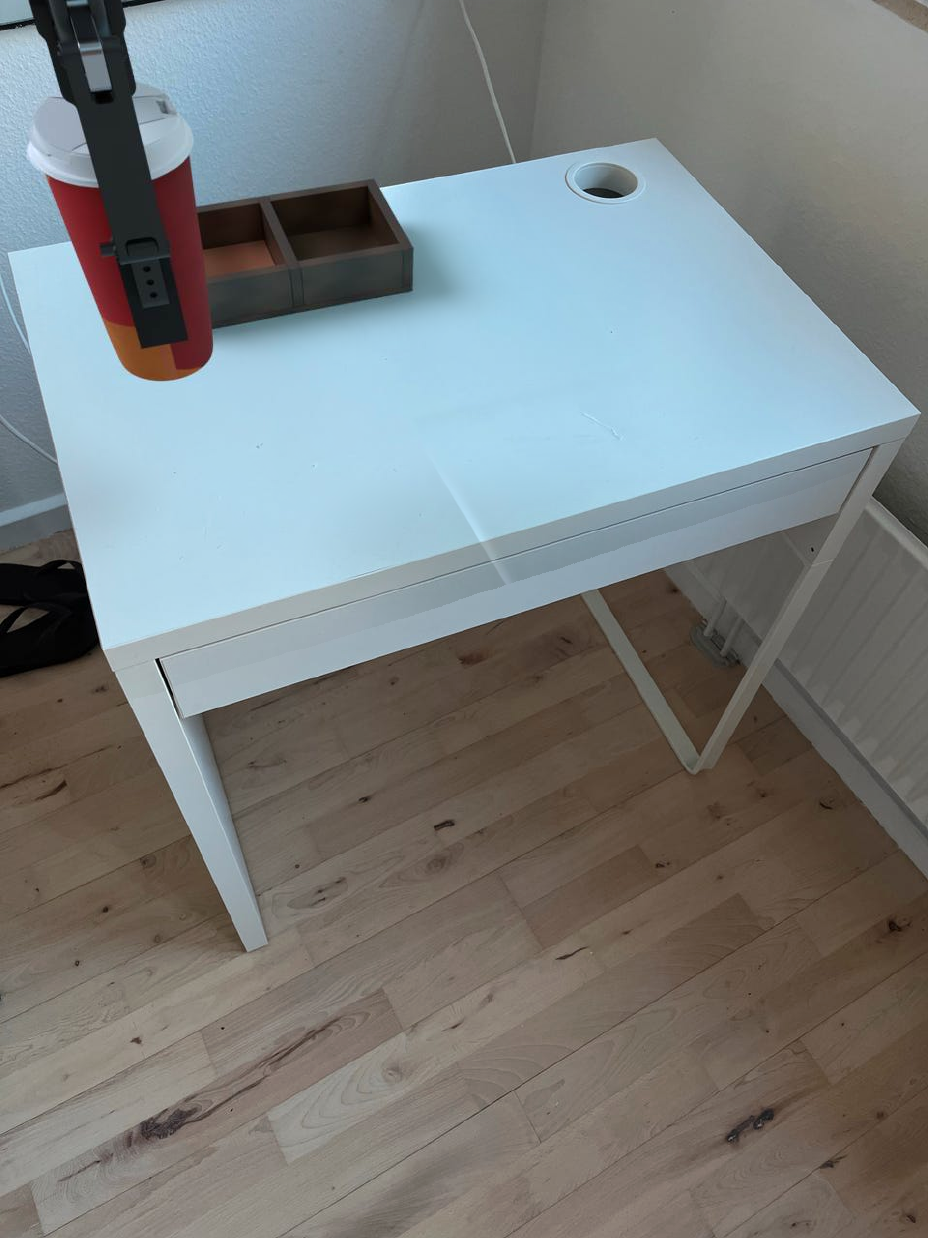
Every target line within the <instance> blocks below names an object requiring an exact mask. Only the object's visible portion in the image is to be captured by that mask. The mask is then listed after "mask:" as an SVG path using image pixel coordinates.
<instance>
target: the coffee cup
mask: <svg viewBox="0 0 928 1238" xmlns="http://www.w3.org/2000/svg"><path fill="white" fill-rule="evenodd" d="M135 82H136V91H135V93H134V95H133V96H132V99H133V104H134V108H135V112H136V116H137V120H138V124H139V129H140V133H141V137H142V141H143V145H144V149H145V154H146V158H147V162H148V166H149V170H150V174H151V179H152V183H153V187H154V191H155V195H156V200H157V204H158V208H159V212H160V216H161V220H162V225H163V229H164V231H165V235H166V237H167V239H169V242H170V246H171V249H170V253H171V254H170V260H171V264H172V269H173V273H174V278H175V282H176V286H177V291H178V295H179V299H180V304H181V308H182V312H183V317H184V321H185V325H186V330H187V334H188V338H189V340H187V341H182V342H177V343H171V344H166V345H161V346H155V347H150V348H144V349H141V345H140V342H139V338H138V335H137V331H136V328H135V324H134V321H133V317H132V314H131V310H130V307H129V303H128V300H127V296H126V293H125V289H124V286H123V282H122V279H121V275H120V272H119V268H118V265H117V261H116V258H115V256H109V257H102V254H101V250H100V247H99V243H103V242H109V241H111V240H110V238H111V236H112V232H111V229H110V225H109V222H108V218H107V215H106V211H105V207H104V204H103V200H102V197H101V193H100V190H99V186H98V182H97V179H96V175H95V172H94V168H93V165H92V161H91V157H90V154H89V150H88V147H87V143H86V140H85V136H84V132H83V129H82V125H81V122H80V118H79V115H78V111H77V109H76V107H75V106H74V105H73V104H71V103H69V102H67V101H66V100H65V99H64V98H63V96H62V94H61V92H60V89H59V90H58V91H55V92H54V93H53V92H52V93H51V94H49V96H47V97H46V98H45V99H44V100H43V102H41V103H40V105H39V106H38V107H37V108H36V110H35V112H34V114H33V118H32V119H33V120H32V123H31V125H30V127H29V128H28V138H29V143H28V145H27V147H26V148H25V151H26V156H27V158H28V160H29V162H30V164H31V165H32V166H33V167H34V168H35V169H36V170H37V171H38V172H41V173H43V174H44V175H45V178H46V181H47V183H48V186H49V188H50V191H51V193H52V196H53V198H54V200H55V201H54V202H56V207H57V208H58V212H59V213H60V216H61V219H62V222H63V224H64V227H65V229H66V231H67V234H68V236H69V239H70V241H71V244H72V247H73V249H74V252H75V254H76V257H77V260H78V263H79V265H80V267H81V269H82V272H83V275H84V278H85V280H86V282H87V285H88V288H89V290H90V293H91V295H92V298H93V300H94V302H95V305H96V307H97V310H98V312H99V315H100V318H101V320H102V322H103V325H104V328H105V330H106V333H107V335H108V337H109V340H110V342H111V345H112V347H113V349H114V351H115V354H116V355H117V358H118V360H119V362H120V364H121V365H122V367H123V368H124V369H125V370H126V372H128V373H130V374H131V375H133V376H135V377H137V378H140V379H141V380H145V381H152V382H170V381H176V380H181V379H184V378H187V377H189V376H191V375H193V374H196V373H197V372H199V371H200V370H202V369H203V368H204V367H205V366H206V365H207V363H208V362H209V361H210V359H211V357H212V355H213V352H214V337H213V335H214V334H213V329H212V325H211V316H210V308H209V300H208V292H207V283H206V274H205V265H204V257H203V249H202V242H201V236H200V229H199V223H198V215H197V208H196V206H197V202H196V201H197V200H196V193H195V187H194V186H195V185H194V179H193V171H192V165H191V157H190V154H191V152H192V151H193V147H194V144H195V143H194V138H195V137H194V133H193V130H192V127H191V126H190V124H189V123H188V122H187V120H186V119H185V118H184V116H182V115H181V113H180V112H179V110H178V109H177V108H176V107H175V106H174V103H173V101H172V100H171V99H170V97H169V96H168V95H167V93H166V92H165V91H163V90H161V89H159V88H157V87H155V86H152V85H150V84H147V83H142V82H138V81H135ZM112 237H113V236H112Z"/></svg>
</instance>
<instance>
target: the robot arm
mask: <svg viewBox="0 0 928 1238" xmlns="http://www.w3.org/2000/svg"><path fill="white" fill-rule="evenodd" d="M28 4H29V8H30V11H31V15H32V17H33V22H34V25H35V29H36V31H37V33H38V35H39V36H40V37H41V38H42V39H43V40H44V42H45V43H46V46H47V49H48V54H49V56H50V60H51V64H52V67H53V70H54V74H55V77H56V81H57V84H58V89H59V90H60V92H61V94H62V96H63V98H64V99H65V100H66V101H67V102H69V103H71V104H73V105H74V106H75V107H76V109H77V111H78V115H79V118H80V122H81V125H82V129H83V132H84V136H85V140H86V143H87V147H88V150H89V154H90V157H91V161H92V165H93V168H94V172H95V175H96V179H97V182H98V186H99V190H100V193H101V197H102V200H103V204H104V207H105V211H106V215H107V218H108V222H109V225H110V229H111V232H112V236H113V237H112V236H111V238H110V240H111V241H109V242H103V243H99V247H100V250H101V254H102V257H109V256H115V258H116V261H117V265H118V268H119V272H120V275H121V279H122V282H123V286H124V289H125V293H126V296H127V300H128V303H129V307H130V310H131V314H132V317H133V321H134V324H135V328H136V331H137V335H138V338H139V342H140V345H141V349H144V348H150V347H155V346H161V345H166V344H171V343H177V342H182V341H187V340H189V338H188V334H187V330H186V325H185V321H184V317H183V312H182V308H181V304H180V299H179V295H178V291H177V286H176V282H175V278H174V273H173V269H172V264H171V260H170V254H171V253H170V249H171V246H170V242H169V239H167V237H166V235H165V231H164V229H163V225H162V220H161V216H160V212H159V208H158V204H157V200H156V195H155V191H154V187H153V183H152V179H151V174H150V170H149V166H148V162H147V158H146V154H145V149H144V145H143V141H142V137H141V133H140V129H139V124H138V120H137V116H136V112H135V108H134V104H133V99H132V96H133V95H134V93H135V91H136V82H137V81H136V78H135V74H134V70H133V67H132V66H133V65H132V62H131V58H130V53H129V50H128V45H127V42H126V38H125V29H126V27H127V19H126V14H125V11H124V6H123V2H122V0H28Z"/></svg>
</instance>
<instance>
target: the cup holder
mask: <svg viewBox="0 0 928 1238" xmlns="http://www.w3.org/2000/svg"><path fill="white" fill-rule="evenodd" d="M196 208H197V215H198V223H199V229H200V236H201V242H202V249H203V257H204V265H205V274H206V283H207V292H208V300H209V308H210V316H211V325H212V330H213V329H218V328H224V327H229V326H234V325H238V324H244V323H249V322H254V321H260V320H265V319H270V318H275V317H280V316H287V315H291V314H296V313H303V312H308V311H312V310H317V309H322V308H323V309H324V308H328V307H333V306H339V305H343V304H349V303H354V302H359V301H364V300H369V299H375V298H381V297H386V296H391V295H396V294H402V293H407V292H412V291H414V246H413V244H412V242H411V241H410V239H409V237H408V236H407V234H406V232H405V231H404V229H403V227H402V225H401V223H400V222H399V220H398V218H397V216H396V215H395V213H394V211H393V209H392V207H391V206H390V204H389V202H388V200H387V199H386V197H385V195H384V194H383V192H382V190H381V189H380V186H379V185H378V183H377V182H376V180H375V178H369V179H362V180H356V181H350V182H344V183H337V184H330V185H324V186H318V187H317V186H316V187H311V188H306V189H305V188H304V189H299V190H292V191H285V192H280V193H274V194H268V195H262V196H254V197H248V198H241V199H236V200H229V201H222V202H217V203H210V204H204V205H198V206H197V205H196Z"/></svg>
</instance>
